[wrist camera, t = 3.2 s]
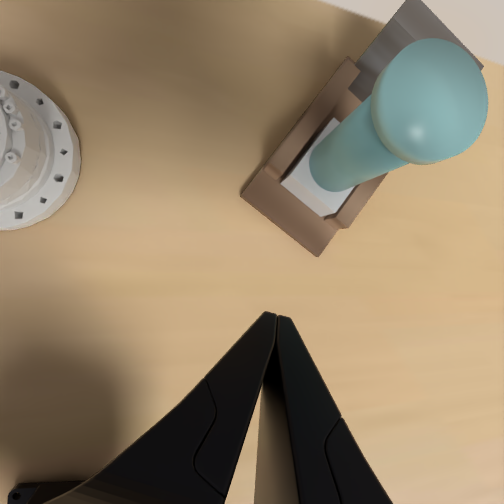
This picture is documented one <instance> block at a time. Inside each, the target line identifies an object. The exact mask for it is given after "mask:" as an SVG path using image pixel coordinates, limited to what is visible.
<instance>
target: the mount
mask: <svg viewBox="0 0 504 504" xmlns="http://www.w3.org/2000/svg"><path fill="white" fill-rule="evenodd" d="M428 38H437V39H443V40H447V41H449V42H452V43H454V44H456V45H458V46H459V47H461V48H462V49H463V50H465V51H466V52H467V53H468V54H469V55H470V56H471V57H472V59H473V60H474V61H475V63H476V64H477V66H478V67H479V69H480V71H481V70H482V68H483V67H484V66H483V65H482V64H481V62H480V61H479V60H478V59H477V58H476V57H475V56H474V55H473V54H472V53H471V52H470V51H469V50H468V49H467V48H466V47H465V46H464V45H463V44H462V43H461V42H460V40H459V39H458V38H456V36H455V35H454V34H453V33H452V32H451V31H450V30H449V29H448V28H447V27H446V26H445V25H444V24H443V23H442V22H441V21H440V20H439V19H438V17H437V16H436V15H435V14H434V13H433V12H432V11H431V10H430V9H429V8H428V7H427V6H426V5H425V4H424V3H423V2H422V1H421V0H406V1H405V2H404V3H403V4H402V6H401V7H400V8H399V9H398V11H397V12H396V13H395V14H394V16H393V17H392V18H391V19H390V21H389V22H388V23H387V24H386V26H385V27H384V28H383V29H382V31H381V32H380V33H379V34H378V36H377V37H376V38H375V39H374V41H373V42H372V43H371V44H370V46H369V47H368V48H367V49H366V51H365V52H364V53H363V54H362V56H361V57H360V58H359V59H358V61H357V62H356V63H355V62H354V61H352V60H351V59H350V58H349V57H348V56H347V58H346V59H345V60H344V62H343V63H342V64H341V66H340V67H339V68H338V69H337V71H336V72H335V73H334V75H333V76H332V77H331V79H330V80H329V81H328V82H327V84H326V85H325V86H324V88H323V89H322V90H321V92H320V93H319V94H318V95H317V97H316V98H315V99H314V101H313V102H312V103H311V105H310V106H309V107H308V108H307V110H306V111H305V112H304V114H303V115H302V116H301V118H300V119H299V120H298V121H297V123H296V124H295V125H294V127H293V128H292V129H291V131H290V132H289V133H288V134H287V136H286V137H285V138H284V140H283V141H282V142H281V144H280V145H279V146H278V147H277V149H276V150H275V151H274V153H273V154H272V155H271V156H270V158H269V159H268V160H267V162H266V163H265V164H264V166H263V167H262V168H261V169H260V171H259V172H258V173H257V175H256V176H255V177H254V179H253V180H252V181H251V182H250V184H249V185H248V186H247V188H246V189H245V190H244V192H243V193H242V194H241V196H240V197H242V198H243V199H244V200H245V201H247V202H248V203H249V204H250V205H252V206H253V207H254V208H255V209H257V210H258V211H259V212H260V213H262V214H263V215H264V216H265V217H267V218H268V219H269V220H270V221H272V222H273V223H274V224H275V225H277V226H278V227H279V228H280V229H282V230H283V231H284V232H285V233H287V234H288V235H289V236H290V237H292V238H293V239H294V240H295V241H297V242H298V243H299V244H301V245H302V246H303V247H304V248H306V249H307V250H308V251H309V252H311V253H312V254H313V255H314V256H316V257H319V256H320V254H321V253H322V252H323V250H324V249H325V247H326V246H327V245H328V243H329V242H330V240H331V239H332V238H333V236H334V235H335V234H336V232H337V231H338V229H344V228H349V226H350V225H351V224H352V222H353V221H354V219H355V218H356V217H357V215H358V214H359V212H360V211H361V210H362V208H363V207H364V206H365V204H366V203H367V201H368V200H369V199H370V197H371V196H372V194H373V193H374V192H375V190H376V189H377V187H378V186H379V185H380V183H381V182H382V181H383V179H384V178H385V176H386V175H387V174H388V172H387V173H385V174H382V175H380V176H377V177H375V178H373V179H370V180H368V181H365V182H363V183H361V184H358V185H356V186H355V187H354V188H353V189H352V191H351V192H350V194H349V195H348V196H347V198H346V199H345V200H344V202H343V203H342V205H341V206H340V207H339V209H338V210H337V211H336V213H333V214H329V215H326V216H322V217H320V216H319V215H318V214H316V213H315V212H314V211H313V210H311V209H310V208H309V207H308V206H307V205H305V204H304V203H303V202H302V201H301V200H299V199H298V198H297V197H296V196H295V195H293V194H292V193H291V192H290V191H289V190H287V189H286V188H285V187H284V186H282V185H281V184H280V183H281V182H282V181H283V179H284V178H285V177H286V175H287V174H288V173H289V172H290V170H291V169H292V168H293V166H294V165H295V164H296V162H297V161H298V160H299V158H300V157H301V156H302V154H303V153H304V152H305V150H306V149H307V148H308V146H309V145H310V144H311V142H312V141H313V140H314V139H315V137H316V136H317V135H318V133H319V132H320V131H321V130H322V129H323V128H324V127H325V126H326V125H327V124H328V123H329V122H330V121H331V120H332V119H333V118H335V119H336V120H337V121H339V122H340V123H341V122H342V121H343V120H344V119H345V118H346V117H347V116H349V115H350V114H351V113H352V112H353V111H354V110H355V109H356V108H357V107H358V106H359V105H360V104H361V103H362V102H363V101H365V100H366V99H367V98H368V97H369V96H370V95H371V94H372V90H373V87H374V84H375V82H376V80H377V78H378V76H379V74H380V73H381V71H382V70H383V69H384V68H385V67H386V66H387V65H388V64H389V63H390V62H391V61H392V60H393V59H394V58H395V57H396V56H397V55H398V54H399V52H401V51H402V50H403V49H404V48H405V47H407V46H408V45H410V44H411V43H413V42H416V41H418V40H422V39H428Z"/></svg>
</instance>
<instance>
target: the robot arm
mask: <svg viewBox="0 0 504 504" xmlns="http://www.w3.org/2000/svg"><path fill="white" fill-rule="evenodd" d="M261 386H262V389H261ZM260 390H261V402H260V418H259V433H258V449H257V464H256V480H255V495H254V504H393V503H392V501H391V499H390V498H389V496H388V495H387V493H386V491H385V490H384V488H383V487H382V485H381V484H380V482H379V480H378V479H377V477H376V475H375V474H374V472H373V470H372V469H371V467H370V465H369V464H368V462H367V460H366V459H365V457H364V455H363V454H362V452H361V450H360V448H359V446H358V445H357V443H356V441H355V439H354V437H353V436H352V434H351V432H350V430H349V428H348V426H347V424H346V422H345V420H344V419H343V418H341V416H342V415H341V413H340V411H339V409H338V407H337V405H336V403H335V401H334V400H333V398H332V396H331V394H330V392H329V390H328V388H327V386H326V384H325V382H324V380H323V378H322V377H321V375H320V373H319V371H318V369H317V367H316V365H315V363H314V361H313V359H312V357H311V355H310V354H309V352H308V350H307V348H306V346H305V344H304V342H303V340H302V338H301V336H300V334H299V332H298V331H297V329H296V327H295V325H294V323H293V321H292V319H291V318H289V317H286V316H282V315H278V316H277V315H276V314H275V313H271V312H267V311H265V312H263V313H262V314H261V316H260V317H259V318H258V319H257V320H256V321H255V322H254V323H253V324H252V325H251V326H250V328H249V329H248V330H247V331H246V332H245V333H244V334H243V335H242V336H241V337H240V338H239V340H238V341H237V342H236V343H235V344H234V345H233V346H232V347H231V348H230V349H229V350H228V352H227V353H226V354H225V355H224V356H223V357H222V358H221V359H220V360H219V361H218V362H217V363H216V365H215V366H214V367H213V368H212V369H211V370H210V371H209V372H208V373H207V374H206V375H205V377H204V378H203V379H202V380H201V381H200V382H199V383H198V384H197V385H196V386H195V387H194V388H193V389H192V390H191V391H190V392H189V393H188V394H187V395H186V396H185V397H184V399H183V400H182V401H181V402H180V403H179V404H177V405H176V406H175V407H174V408H173V409H172V410H171V411H170V412H169V413H167V414H166V415H165V416H164V417H163V418H162V419H161V420H160V421H158V422H157V423H156V424H155V425H154V426H153V427H151V428H150V429H149V430H148V431H147V432H145V433H144V434H143V435H142V436H141V437H140V438H138V439H137V440H136V441H135V442H134V443H132V444H131V445H130V446H129V447H128V448H127V449H125V450H124V451H123V452H122V453H121V454H120V455H118V456H117V457H116V458H115V459H114V460H112V461H111V462H110V463H109V464H108V465H106V466H105V467H104V468H103V469H101V470H100V471H99V472H98V473H96V474H95V475H94V476H92V477H91V478H89V479H88V480H86V481H67V482H44V483H21V484H18V485H16V486H15V487H14V488H13V489H12V490H11V492H10V493H9V495H8V502H7V504H224V503H225V500H226V497H227V494H228V491H229V488H230V484H231V481H232V478H233V475H234V472H235V469H236V465H237V462H238V459H239V456H240V453H241V450H242V446H243V443H244V440H245V437H246V434H247V431H248V427H249V424H250V421H251V418H252V415H253V412H254V409H255V405H256V402H257V399H258V396H259V393H260ZM17 492H18V493H20V494H21V495H20V494H17Z"/></svg>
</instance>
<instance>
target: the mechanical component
mask: <svg viewBox="0 0 504 504" xmlns="http://www.w3.org/2000/svg"><path fill="white" fill-rule="evenodd" d="M80 165H81V156H80V148H79V139H78V137H77V135H76V133H75V131H74V129H73V127H72V125H71V123H70V122H69V120H68V118H67V116H66V115H65V114H64V113H63V111H62V110H61V109H60V108H59V107H58V105H56V104H55V103H54V102H53V101H52V100H51V99H49V98H48V97H47V96H46V95H45V94H44V93H42V92H41V91H40V90H39V89H38V88H37V87H35V86H34V85H32V84H30V83H29V82H27V81H25V80H23V79H22V78H20V77H18V76H15V75H12V74H9V73H6V72H4V71H1V70H0V230H16V229H20V228H24V227H29V226H31V225H33V224H35V223H37V222H39V221H42V220H44V219H46V218H48V217H50V216H51V215H52V214H53V213H54V212H55V211H57V210H58V209H59V208H60V207H61V206H62V205H63V204H64V203H65V202H66V201H67V199H68V198H69V196H70V195H71V193H72V192H73V190H74V188H75V185H76V183H77V180H78V178H79V172H80Z"/></svg>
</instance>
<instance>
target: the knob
mask: <svg viewBox="0 0 504 504" xmlns="http://www.w3.org/2000/svg"><path fill="white" fill-rule="evenodd" d="M487 111H488V94H487V88H486V84H485V80H484V78H483V75H482V73H481V71H480V69H479V67H478V66H477V64H476V63H475V61H474V60H473V59H472V57H471V56H470V55H469V54H468V53H467V52H466V51H465V50H463V49H462V48H461V47H459V46H458V45H456V44H454V43H452V42H449V41H447V40H443V39H437V38H428V39H422V40H418V41H416V42H413V43H411V44H410V45H408V46H407V47H405V48H404V49H403V50H402V51H401V52H399V54H398V55H397V56H396V57H395V58H394V59H393V60H392V61H391V62H390V63H389V64H388V65H387V66H386V67H385V68H384V69H383V70H382V71H381V73H380V74H379V76H378V78H377V80H376V82H375V84H374V87H373V90H372V94H371V95H370V96H369V97H368V98H367V99H366V100H365V101H363V102H362V103H361V104H360V105H359V106H358V107H357V108H356V109H355V110H354V111H353V112H352V113H351V114H350V115H349V116H347V117H346V118H345V119H344V120H343V121H342V122H341V123H340V122H339V121H337V120H336V119H335V118H333V119H332V120H331V121H330V122H329V123H328V124H327V125H326V126H325V127H324V128H323V129H322V130H321V131H320V132H319V133H318V135H317V136H316V137H315V139H314V140H313V141H312V142H311V144H310V145H309V146H308V148H307V149H306V150H305V152H304V153H303V154H302V156H301V157H300V158H299V160H298V161H297V162H296V164H295V165H294V166H293V168H292V169H291V170H290V172H289V173H288V174H287V175H286V177H285V178H284V179H283V181H282V182H281V183H280V184H281V185H282V186H284V187H285V188H286V189H287V190H289V191H290V192H291V193H292V194H293V195H295V196H296V197H297V198H298V199H299V200H301V201H302V202H303V203H304V204H305V205H307V206H308V207H309V208H310V209H311V210H313V211H314V212H315V213H316V214H318V215H319V216H320V217H322V216H326V215H329V214H333V213H336V211H337V210H338V209H339V207H340V206H341V205H342V203H343V202H344V200H345V199H346V198H347V196H348V195H349V194H350V192H351V191H352V189H353V188H354V187H355V186H356V185H358V184H361V183H363V182H365V181H368V180H370V179H373V178H375V177H377V176H380V175H382V174H385V173H387V172H389V171H392V170H394V169H397V168H399V167H402V166H404V165H406V164H409V163H412V164H417V165H428V164H433V163H436V162H439V161H442V160H445V159H448V158H450V157H453V156H456V155H458V154H460V153H462V152H463V151H465V150H466V149H468V148H469V147H470V146H471V145H472V144H473V143H474V142H475V140H476V139H477V138H478V136H479V135H480V133H481V131H482V129H483V127H484V124H485V121H486V117H487Z"/></svg>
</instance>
